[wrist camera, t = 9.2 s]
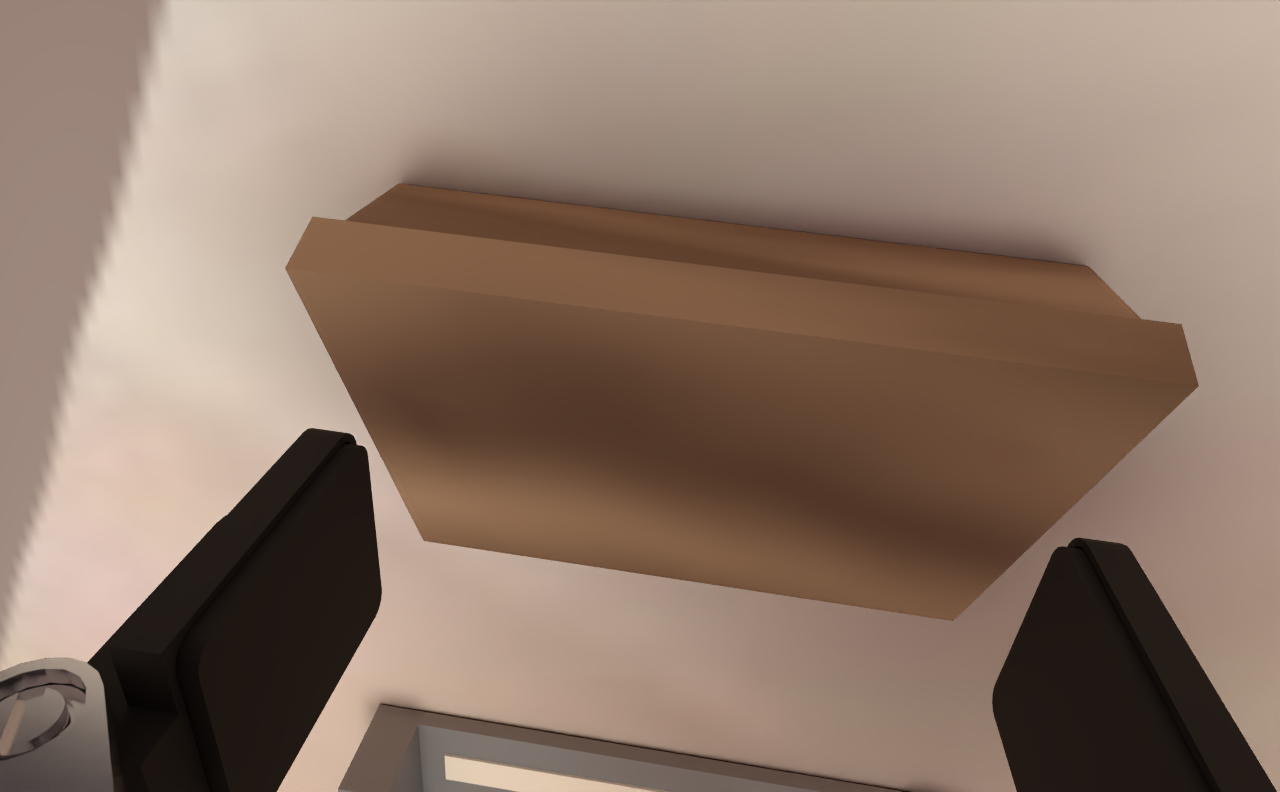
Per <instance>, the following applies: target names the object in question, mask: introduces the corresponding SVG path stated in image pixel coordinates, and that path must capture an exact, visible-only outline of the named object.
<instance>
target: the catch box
mask: <svg viewBox="0 0 1280 792" xmlns="http://www.w3.org/2000/svg"><path fill="white" fill-rule="evenodd" d="M338 792H903V791H897V790H891V789H885V788H879V787H873V786H867V785H861V784H855V783H849V782H843V781H837V780H831V779H825V778H819V777H813V776H807V775H801V774H795V773H789V772H783V771H777V770H771V769H765V768H759V767H753V766H747V765H741V764H735V763H729V762H723V761H717V760H711V759H705V758H699V757H693V756H687V755H681V754H675V753H669V752H663V751H657V750H651V749H645V748H639V747H633V746H627V745H621V744H615V743H609V742H603V741H597V740H591V739H585V738H579V737H573V736H567V735H561V734H555V733H549V732H543V731H537V730H531V729H525V728H519V727H513V726H507V725H501V724H495V723H489V722H483V721H477V720H471V719H465V718H459V717H453V716H447V715H441V714H435V713H429V712H423V711H417V710H411V709H405V708H399V707H393V706H387V705H381V704H380V705H379V707H378V709H377V711H376V713H375V715H374V717H373V720H372V722H371V724H370V726H369V728H368V730H367V732H366V734H365V736H364V738H363V740H362V742H361V744H360V746H359V748H358V750H357V752H356V754H355V756H354V758H353V760H352V762H351V764H350V766H349V768H348V770H347V772H346V774H345V776H344V778H343V780H342V782H341V784H340V786H339V788H338Z"/></svg>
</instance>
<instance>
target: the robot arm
mask: <svg viewBox="0 0 1280 792" xmlns="http://www.w3.org/2000/svg"><path fill="white" fill-rule="evenodd" d="M381 595H382V587H381V578H380V568H379V558H378V549H377V539H376V530H375V520H374V510H373V501H372V491H371V481H370V472H369V462H368V454H367V450H366V448H365V447H363V446H360V445H357V444H356V440H355V438H354V436H353V435H351V434H349V433H342V432H335V431H328V430H321V429H314V428H311V429H307V430H306V431H305V432H303V433H302V435H301V436H300V437H299V438H298V439H297V440H296V441H295V442H294V443H293V444H292V445H291V446H290V448H289V449H288V450H287V451H286V452H285V453H284V454H283V455H282V456H281V457H280V458H279V460H278V461H277V462H276V463H275V464H274V465H273V466H272V467H271V468H270V469H269V470H268V471H267V473H266V474H265V475H264V476H263V477H262V478H261V479H260V480H259V481H258V482H257V483H256V484H255V486H254V487H253V488H252V489H251V490H250V491H249V492H248V493H247V494H246V495H245V496H244V498H243V499H242V500H241V501H240V502H239V503H238V504H237V505H236V506H235V507H234V508H233V509H232V511H231V512H230V513H229V514H228V515H226V516H225V517H223V518H222V519H221V520H220V521H218V522H217V523H216V524H215V525H214V526H213V527H212V529H211V530H210V531H209V532H208V533H207V534H206V535H205V536H204V537H203V538H202V539H201V540H200V542H199V543H198V544H197V545H196V546H195V547H194V548H193V549H192V550H191V551H190V552H189V553H188V554H187V556H186V557H185V558H184V559H183V560H182V561H181V562H180V563H179V564H178V565H177V566H176V567H175V568H174V570H173V571H172V572H171V573H170V574H169V575H168V576H167V577H166V578H165V579H164V580H163V581H162V583H161V584H160V585H159V586H158V587H157V588H156V589H155V590H154V591H153V592H152V593H151V594H150V595H149V597H148V598H147V599H146V600H145V601H144V602H143V603H142V604H141V605H140V606H139V607H138V608H137V610H136V611H135V612H134V613H133V614H132V615H131V616H130V617H129V618H128V619H127V620H126V621H125V622H124V624H123V625H122V626H121V627H120V628H119V629H118V630H117V631H116V632H115V633H114V634H113V635H112V637H111V638H110V639H109V640H108V641H107V642H106V643H105V644H104V645H103V646H102V647H101V648H100V649H99V651H98V652H97V653H96V654H95V655H94V656H93V657H92V658H91V659H90V660H89V661H88V662H87V663H86V662H83V661H79V660H75V659H71V658H44V659H39V660H35V661H30V662H25V663H21V664H18V665H16V666H13V667H11V668H8V669H6V670H3V671H1V672H0V792H277V790H278V788H279V786H280V785H281V783H282V781H283V779H284V778H285V776H286V774H287V772H288V771H289V769H290V767H291V765H292V763H293V762H294V760H295V758H296V756H297V755H298V753H299V751H300V749H301V748H302V746H303V744H304V742H305V740H306V739H307V737H308V735H309V733H310V732H311V730H312V728H313V726H314V725H315V723H316V721H317V719H318V717H319V716H320V714H321V712H322V710H323V709H324V707H325V705H326V703H327V702H328V700H329V698H330V696H331V694H332V693H333V691H334V689H335V687H336V686H337V684H338V682H339V680H340V679H341V677H342V675H343V673H344V671H345V670H346V668H347V666H348V664H349V663H350V661H351V659H352V657H353V656H354V654H355V652H356V650H357V648H358V647H359V645H360V643H361V641H362V640H363V638H364V636H365V634H366V633H367V631H368V629H369V627H370V625H371V624H372V622H373V620H374V618H375V616H376V614H377V612H378V609H379V606H380V602H381ZM992 704H993V712H994V717H995V720H996V723H997V727H998V730H999V733H1000V737H1001V740H1002V743H1003V747H1004V750H1005V753H1006V757H1007V760H1008V763H1009V766H1010V770H1011V773H1012V776H1013V780H1014V783H1015V786H1016V790H1017V792H1277V791H1276V789H1275V788H1274V786H1273V784H1272V783H1271V781H1270V779H1269V778H1268V776H1267V774H1266V773H1265V771H1264V770H1263V768H1262V766H1261V765H1260V763H1259V761H1258V760H1257V758H1256V756H1255V755H1254V753H1253V751H1252V750H1251V748H1250V746H1249V745H1248V743H1247V741H1246V740H1245V738H1244V736H1243V735H1242V733H1241V731H1240V730H1239V728H1238V727H1237V725H1236V723H1235V722H1234V720H1233V718H1232V717H1231V715H1230V713H1229V712H1228V710H1227V708H1226V707H1225V705H1224V703H1223V702H1222V700H1221V698H1220V697H1219V695H1218V693H1217V692H1216V690H1215V689H1214V687H1213V685H1212V684H1211V682H1210V680H1209V679H1208V677H1207V675H1206V674H1205V672H1204V670H1203V669H1202V667H1201V665H1200V664H1199V662H1198V660H1197V659H1196V657H1195V655H1194V654H1193V652H1192V651H1191V649H1190V647H1189V646H1188V644H1187V642H1186V641H1185V639H1184V637H1183V636H1182V634H1181V632H1180V631H1179V629H1178V627H1177V626H1176V624H1175V622H1174V621H1173V619H1172V617H1171V616H1170V614H1169V613H1168V611H1167V609H1166V608H1165V606H1164V604H1163V603H1162V601H1161V599H1160V598H1159V596H1158V594H1157V593H1156V591H1155V589H1154V588H1153V586H1152V584H1151V583H1150V581H1149V579H1148V578H1147V576H1146V574H1145V573H1144V571H1143V570H1142V568H1141V566H1140V565H1139V563H1138V561H1137V560H1136V558H1135V556H1134V555H1133V553H1132V551H1131V550H1130V549H1129V548H1128V547H1127V546H1126V545H1123V544H1120V543H1113V542H1106V541H1099V540H1092V539H1085V538H1075V539H1073V540H1072V541H1071V542H1070V543H1069V545H1068V547H1062V546H1061V547H1058V548H1057V549H1055V551H1054V552H1053V554H1052V556H1051V558H1050V561H1049V563H1048V565H1047V568H1046V570H1045V572H1044V574H1043V577H1042V579H1041V581H1040V583H1039V586H1038V588H1037V590H1036V593H1035V595H1034V597H1033V599H1032V602H1031V604H1030V606H1029V609H1028V611H1027V613H1026V615H1025V618H1024V620H1023V622H1022V624H1021V627H1020V629H1019V631H1018V634H1017V636H1016V638H1015V640H1014V643H1013V645H1012V647H1011V650H1010V652H1009V654H1008V656H1007V659H1006V661H1005V663H1004V666H1003V668H1002V670H1001V672H1000V675H999V677H998V679H997V681H996V684H995V687H994V690H993V700H992Z"/></svg>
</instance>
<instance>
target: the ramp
mask: <svg viewBox="0 0 1280 792" xmlns="http://www.w3.org/2000/svg"><path fill="white" fill-rule="evenodd" d="M285 269H286V271H287V273H288V275H289V276H290V278H291V280H292V282H293V284H294V286H295V288H296V290H297V292H298V294H299V296H300V298H301V300H302V302H303V304H304V306H305V308H306V310H307V312H308V314H309V316H310V318H311V320H312V322H313V324H314V326H315V328H316V330H317V332H318V334H319V336H320V338H321V339H322V341H323V343H324V345H325V347H326V349H327V351H328V353H329V355H330V357H331V359H332V361H333V363H334V365H335V367H336V369H337V371H338V373H339V375H340V377H341V379H342V381H343V383H344V385H345V387H346V389H347V391H348V393H349V395H350V397H351V399H352V400H353V402H354V404H355V406H356V408H357V410H358V412H359V414H360V416H361V418H362V420H363V422H364V424H365V426H366V428H367V430H368V432H369V434H370V436H371V438H372V440H373V442H374V444H375V446H376V448H377V450H378V452H379V454H380V456H381V458H382V460H383V461H384V463H385V465H386V467H387V469H388V471H389V473H390V475H391V477H392V479H393V481H394V483H395V485H396V487H397V489H398V491H399V493H400V495H401V497H402V499H403V501H404V503H405V505H406V507H407V509H408V511H409V513H410V515H411V517H412V519H413V521H414V523H415V524H416V526H417V528H418V530H419V532H420V534H421V536H422V538H423V540H424V541H429V542H435V543H442V544H449V545H455V546H462V547H468V548H475V549H482V550H488V551H495V552H501V553H508V554H515V555H521V556H528V557H534V558H541V559H548V560H554V561H561V562H567V563H574V564H581V565H587V566H594V567H601V568H607V569H614V570H620V571H627V572H634V573H640V574H647V575H653V576H660V577H667V578H673V579H680V580H686V581H693V582H700V583H706V584H713V585H719V586H726V587H733V588H739V589H746V590H753V591H759V592H766V593H772V594H779V595H786V596H792V597H799V598H805V599H812V600H819V601H825V602H832V603H838V604H845V605H852V606H858V607H865V608H871V609H878V610H885V611H891V612H898V613H904V614H911V615H918V616H924V617H931V618H938V619H944V620H951V621H953V620H954V619H955V618H956V617H957V616H958V615H959V614H960V613H961V612H962V611H964V610H965V609H966V608H967V607H968V606H969V605H970V604H971V603H972V602H973V601H974V600H975V599H976V598H977V597H978V596H979V595H980V594H981V593H982V592H983V591H984V590H985V589H987V588H988V587H989V586H990V585H991V584H992V583H993V582H994V581H995V580H996V579H997V578H998V577H999V576H1000V575H1001V574H1002V573H1003V572H1004V571H1005V570H1006V569H1007V568H1009V567H1010V566H1011V565H1012V564H1013V563H1014V562H1015V561H1016V560H1017V559H1018V558H1019V557H1020V556H1021V555H1022V554H1023V553H1024V552H1025V551H1026V550H1027V549H1028V548H1029V547H1031V546H1032V545H1033V544H1034V543H1035V542H1036V541H1037V540H1038V539H1039V538H1040V537H1041V536H1042V535H1043V534H1044V533H1045V532H1046V531H1047V530H1048V529H1049V528H1050V527H1051V526H1052V525H1054V524H1055V523H1056V522H1057V521H1058V520H1059V519H1060V518H1061V517H1062V516H1063V515H1064V514H1065V513H1066V512H1067V511H1068V510H1069V509H1070V508H1071V507H1072V506H1073V505H1074V504H1076V503H1077V502H1078V501H1079V500H1080V499H1081V498H1082V497H1083V496H1084V495H1085V494H1086V493H1087V492H1088V491H1089V490H1090V489H1091V488H1092V487H1093V486H1094V485H1095V484H1096V483H1097V482H1099V481H1100V480H1101V479H1102V478H1103V477H1104V476H1105V475H1106V474H1107V473H1108V472H1109V471H1110V470H1111V469H1112V468H1113V467H1114V466H1115V465H1116V464H1117V463H1118V462H1119V461H1121V460H1122V459H1123V458H1124V457H1125V456H1126V455H1127V454H1128V453H1129V452H1130V451H1131V450H1132V449H1133V448H1134V447H1135V446H1136V445H1137V444H1138V443H1139V442H1140V441H1141V440H1142V439H1144V438H1145V437H1146V436H1147V435H1148V434H1149V433H1150V432H1151V431H1152V430H1153V429H1154V428H1155V427H1156V426H1157V425H1158V424H1159V423H1160V422H1161V421H1162V420H1163V419H1164V418H1166V417H1167V416H1168V415H1169V414H1170V413H1171V412H1172V411H1173V410H1174V409H1175V408H1176V407H1177V406H1178V405H1179V404H1180V403H1181V402H1182V401H1183V400H1184V399H1185V398H1186V397H1187V396H1189V395H1190V394H1191V393H1192V392H1193V391H1194V390H1195V389H1196V388H1197V387H1198V386H1199V385H1198V382H1197V378H1196V375H1195V371H1194V367H1193V364H1192V360H1191V357H1190V353H1189V350H1188V346H1187V342H1186V339H1185V335H1184V332H1183V328H1182V324H1174V323H1166V322H1158V321H1150V320H1142V319H1141V318H1140V317H1139V316H1138V315H1137V314H1136V313H1135V312H1134V311H1133V310H1132V309H1131V308H1130V307H1129V306H1128V305H1127V304H1126V303H1125V302H1124V301H1123V300H1122V299H1121V298H1120V297H1119V296H1118V295H1117V294H1116V293H1115V292H1114V291H1113V290H1112V289H1111V288H1110V287H1109V286H1108V285H1107V284H1106V283H1105V282H1104V281H1103V280H1102V279H1101V278H1100V277H1099V276H1098V275H1097V274H1096V273H1095V272H1094V271H1093V270H1092V269H1091V268H1090V267H1089V266H1082V265H1073V264H1065V263H1057V262H1048V261H1040V260H1032V259H1023V258H1015V257H1007V256H998V255H990V254H982V253H973V252H965V251H957V250H948V249H940V248H932V247H923V246H915V245H907V244H898V243H890V242H882V241H873V240H865V239H857V238H848V237H840V236H832V235H823V234H815V233H807V232H798V231H790V230H782V229H773V228H765V227H757V226H748V225H740V224H732V223H723V222H715V221H707V220H698V219H690V218H682V217H673V216H665V215H657V214H648V213H640V212H632V211H623V210H615V209H607V208H598V207H590V206H582V205H573V204H565V203H557V202H548V201H540V200H532V199H523V198H515V197H507V196H498V195H490V194H482V193H473V192H465V191H457V190H448V189H440V188H432V187H423V186H415V185H407V184H398V185H396V186H395V187H393V188H392V189H390V190H389V191H388V192H386V193H385V194H383V195H382V196H380V197H379V198H377V199H376V200H374V201H373V202H371V203H370V204H369V205H367V206H366V207H364V208H363V209H361V210H360V211H358V212H357V213H355V214H354V215H352V216H351V217H350V218H348V219H347V220H345V221H343V220H335V219H327V218H319V217H312V219H311V221H310V223H309V225H308V226H307V228H306V230H305V232H304V234H303V236H302V238H301V240H300V241H299V243H298V245H297V247H296V249H295V251H294V253H293V255H292V257H291V258H290V260H289V262H288V264H287V266H286V268H285Z"/></svg>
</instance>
